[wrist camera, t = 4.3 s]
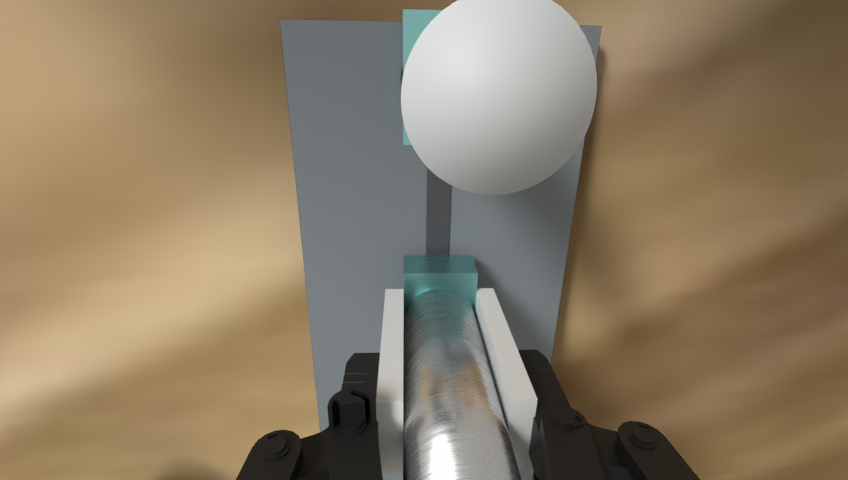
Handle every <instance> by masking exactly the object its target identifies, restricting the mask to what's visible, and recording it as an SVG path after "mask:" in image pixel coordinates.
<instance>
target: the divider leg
mask: <svg viewBox="0 0 848 480" xmlns="http://www.w3.org/2000/svg"><path fill="white" fill-rule="evenodd" d="M477 280H478V272H477V269H476V266H475V263H474V261H473V258H472V255H404V413H403V480H521V476H520V473H519V469H518V465H517V462H516V458H515V455H514V451H513V448H512V444H511V441H510V437H509V434H508V430H507V427H506V423H505V420H504V416H503V412H502V409H501V405H500V402H499V398H498V395H497V391H496V388H495V384H494V381H493V377H492V374H491V370H490V367H489V363H488V359H487V356H486V352H485V349H484V345H483V342H482V338H481V335H480V331H479V328H478V324H477V321H476V317H475V307H476V292H477Z"/></svg>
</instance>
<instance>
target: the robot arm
mask: <svg viewBox="0 0 848 480" xmlns="http://www.w3.org/2000/svg"><path fill="white" fill-rule="evenodd" d="M475 317H476V321H477V324H478V328H479V331H480V335H481V338H482V342H483V345H484V349H485V352H486V356H487V359H488V363H489V367H490V370H491V374H492V377H493V381H494V384H495V388H496V391H497V395H498V398H499V402H500V405H501V409H502V412H503V416H504V420H505V423H506V427H507V430H508V434H509V437H510V441H511V444H512V448H513V451H514V455H515V458H516V462H517V465H518V469H519V470H528V463H529V457H530V460H531V463H532V466H533V469H534V471H533V478H532V480H700V479H699V478H698V477H697V475H696V474H695V473H694V472H693V470H692V469H691V468H690V467H689V466H688V464H687V463H686V462H685V461H684V459H683V458H682V457H681V456H680V454H679V453H678V452H677V451H676V450H675V448H674V447H673V446H672V445H671V443H670V442H669V441H668V440H667V438H666V437H665V436H664V435H663V434H662V433H660V432H659V431H658V430H657V429H655V428H653V427H652V426H650V425H648V424H645V423H641V422H635V421H629V422H626V423H623V424H622V425H621V426H620V427H619V428H618V432H616V431H611V430H607V429H603V428H599V427H596V426H592V425H590V424H588V423H587V421H586V419H585V418H584V416H583V415H581V414H580V413H579V412H578V411H576V410H574V409H572V408H571V406H570V404H569V402H568V400H567V398H566V396H565V394H564V392H563V390H562V388H561V386H560V384H559V382H558V380H557V379H556V376H555V374H554V372H553V370H552V367H551V365H550V363H549V361H548V359H547V358H546V357H545V356H544V355H543V354H542V353H540V352H539V351H538V350H518V349H517V346H516V344H515V341H514V339H513V336H512V334H511V331H510V329H509V326H508V324H507V321H506V319H505V316H504V314H503V311H502V309H501V306H500V304H499V301H498V299H497V296H496V294H495V291H494V289H493V288H477V292H476V307H475ZM327 409H328V420H329V427H327V428H326V429H325V430H323V431H322V432H320V433H317V434H315V435H312V436H309V437H305V438H302V439H300V437H299V436H298V435H297V434H295V433H294V432H292V431H288V430H278V431H274V432H271V433H268V434H266V435H264V436H263V437H262V438H260V439H259V440H258V441H257V442H256V443H255V445H254V446H253V447H252V449H251V451H250V453H249V455H248V457H247V459H246V461H245V463H244V465H243V467H242V469H241V471H240V473H239V475H238V477H237V479H236V480H383V476H382V474H399V473H403V413H404V289H385V301H384V312H383V324H382V336H381V348H380V353H354V354H353V355H352V356H351V357H350V359H349V360H348V361H347V362H346V367H345V373H344V378H343V383H342V388H341V391H339V392H337V393H335V394H334V395H333V396H332V397H331V399H330V400H329V403H328V406H327Z"/></svg>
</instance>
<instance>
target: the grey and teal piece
mask: <svg viewBox="0 0 848 480" xmlns="http://www.w3.org/2000/svg"><path fill="white" fill-rule="evenodd" d="M280 26H281V37H282V47H283V57H284V67H285V77H286V88H287V98H288V108H289V118H290V129H291V139H292V149H293V159H294V169H295V180H296V190H297V200H298V210H299V220H300V231H301V241H302V251H303V261H304V272H305V282H306V292H307V302H308V312H309V323H310V333H311V343H312V353H313V364H314V374H315V384H316V394H317V404H318V415H319V425H320V432H322V431H323V430H325V429H326V428H327V427H329V420H328V409H327V406H328V403H329V400H330V399H331V397H332V396H333V395H334V394H335V393H337V392H339V391H341V388H342V383H343V378H344V373H345V367H346V362H347V361H348V360H349V359H350V357H351V356H352V355H353V354H354V353H380V348H381V336H382V324H383V312H384V301H385V289H404V255H472V258H473V261H474V263H475V266H476V269H477V272H478V280H477V288H493V289H494V291H495V294H496V296H497V299H498V301H499V304H500V306H501V309H502V311H503V314H504V316H505V319H506V321H507V324H508V326H509V329H510V331H511V334H512V336H513V339H514V341H515V344H516V346H517V349H518V350H538V351H539V352H540V353H542V354H543V355H544V356H545V357H546V358H547V359H548V361H549V363H550V364H551V358H552V351H553V345H554V338H555V331H556V325H557V318H558V311H559V305H560V298H561V292H562V285H563V278H564V272H565V265H566V259H567V252H568V245H569V239H570V232H571V226H572V219H573V212H574V206H575V199H576V192H577V186H578V179H579V173H580V166H581V159H582V153H583V146H584V140H585V134H586V132H587V130H588V128H589V125H590V122H591V119H592V116H593V112H594V108H595V103H596V95H597V73H596V60H597V54H598V47H599V40H600V34H601V27H602V26H585V25H578V23H577V22H576V21H575V20H574V19H573V18H572V16H571V15H570V14H569V13H568V12H567V11H565V10H564V9H563V8H562V7H561V6H560V5H558V4H557V3H555V2H554V1H552V0H458V1H456V2H454V3H452V4H451V5H450V6H448V7H447V8H445V9H444V10H413V9H403V22H392V21H344V20H296V19H280ZM533 471H534V469H533V466H532V463H531V460H530V457H529V463H528V470H519V473H520V476H521V480H532V478H533ZM382 476H383V480H403V473H399V474H382Z"/></svg>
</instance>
